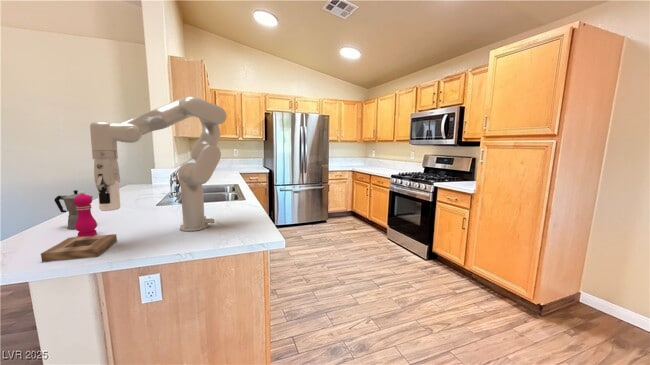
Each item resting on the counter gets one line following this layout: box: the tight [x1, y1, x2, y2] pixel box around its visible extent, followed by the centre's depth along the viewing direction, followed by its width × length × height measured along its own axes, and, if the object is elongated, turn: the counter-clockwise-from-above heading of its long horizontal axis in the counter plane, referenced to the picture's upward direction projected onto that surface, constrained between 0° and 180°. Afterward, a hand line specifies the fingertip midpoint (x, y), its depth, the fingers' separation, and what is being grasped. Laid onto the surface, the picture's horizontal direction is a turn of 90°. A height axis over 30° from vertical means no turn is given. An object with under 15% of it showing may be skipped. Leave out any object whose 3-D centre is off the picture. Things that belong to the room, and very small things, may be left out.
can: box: [97, 180, 121, 212], centre depth 104 cm, size 6×6×12 cm
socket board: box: [40, 233, 118, 263], centre depth 102 cm, size 16×16×3 cm
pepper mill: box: [74, 190, 98, 237], centre depth 116 cm, size 7×7×20 cm
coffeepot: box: [54, 189, 93, 230], centre depth 128 cm, size 15×9×18 cm, turn 103°
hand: (108, 201), depth 104 cm, fingers closed on can, 5 cm apart
